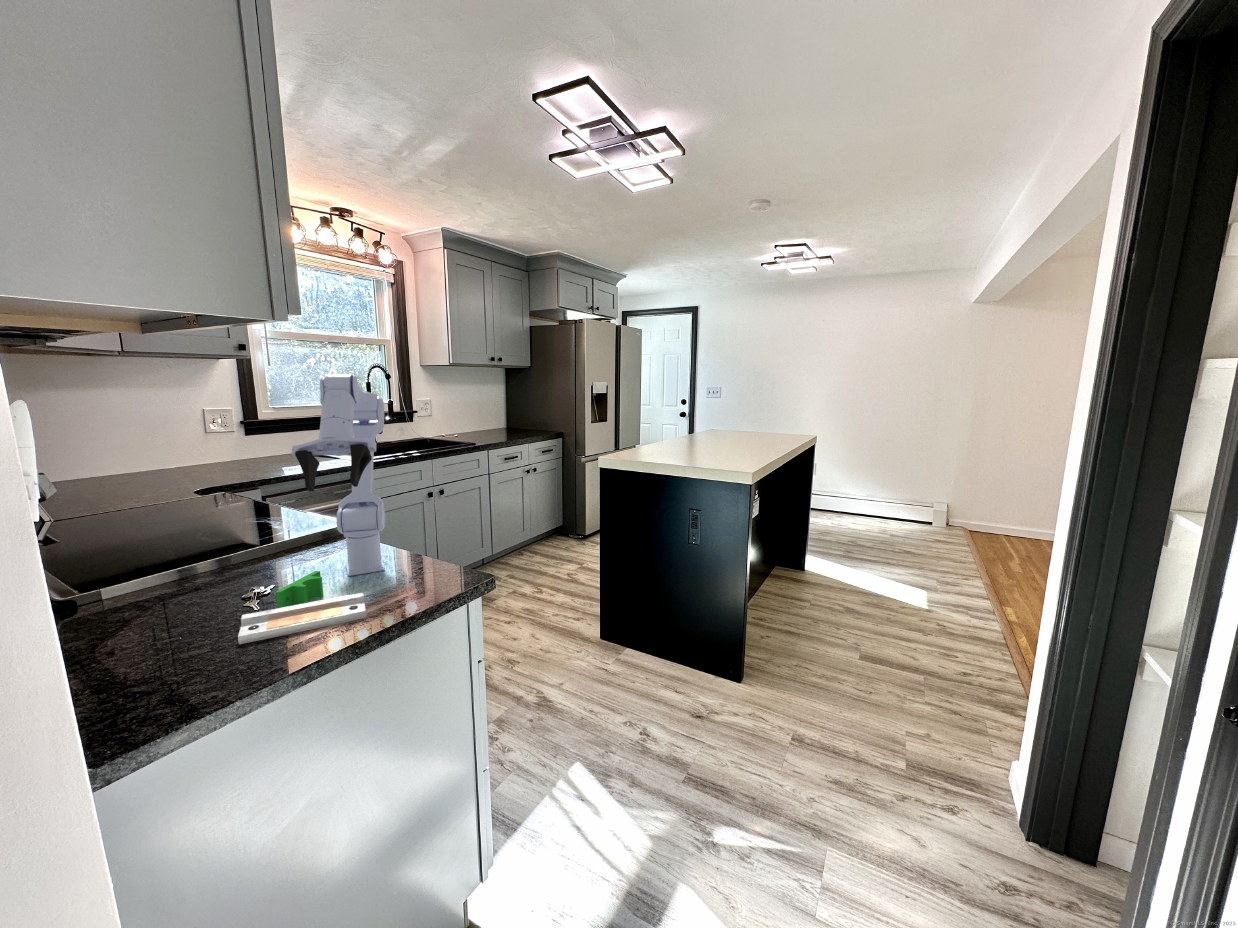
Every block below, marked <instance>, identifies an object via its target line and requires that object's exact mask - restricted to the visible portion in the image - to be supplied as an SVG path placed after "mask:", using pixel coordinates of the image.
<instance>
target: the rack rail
mask: <svg viewBox="0 0 1238 928" xmlns="http://www.w3.org/2000/svg"><path fill="white" fill-rule="evenodd" d="M364 599H365V597H364V593H363V592H359V593H354V594H349V595H343V596H342V595H341V596H337V597H332V598H327V599H321V600H316V601H310V602H308V603H304V604H299V605H294V606H288V607H283V608H277V607H276V608H272V609H267V610H262V611H255V612H252V613H245V614H241V618H240V622H241V625H240V628H239V632H238V636H237V638H238V639H237V640H238V641H237V642H238V645H243V644H247V643H248V644H249V643H253V642H257V641H258V642H259V641H262V640H267V639H273V638H277V637H283V636H287V635H291V634H296V633H301V632H304V631H310V630H316V629H319V628H326V627H329V626H335V625H339V624H343V623H349V622H352V621H353V622H354V621H358V619H359V620H362V619H366V618H367V610H366V604H365V600H364Z"/></svg>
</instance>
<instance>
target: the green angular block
mask: <svg viewBox="0 0 1238 928" xmlns="http://www.w3.org/2000/svg"><path fill="white" fill-rule="evenodd" d="M323 597H324V587H323V577H322V576H321V571H320V570H314V571H312V572H310V573H309V574H307V575H304V576H303V577H301V578H298V579H297V580H295V581H293V582H291V583H289V584H288V585H286V586H284V587H282V588H280V589H278V590H275V600H276V601H275V602H276V609H277V608H283V607H288V606H294V605H299V604H304V603H309V600H312V599H317V598H319V599H320V598H323Z"/></svg>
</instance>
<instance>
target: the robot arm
mask: <svg viewBox="0 0 1238 928" xmlns="http://www.w3.org/2000/svg"><path fill="white" fill-rule="evenodd" d="M319 392H320V397H319V400H320V405H321V414H320V424H319V433H318V439H315V440H311V441H308V442H305V443H301V444H297V445H296V444H295V445H292V447H291V454H290V455H292V457H293V458H294V459H295V460H297V462H298V463H299V466H300V468H301V471H302V474H303V478H304V484H305V485H304V487H305V488H306V489H307V490H308V491H309V492H315V487H316V476H317V473H318V472H317V471H318V469H319V466H320V461H319V460H318V459H317V458H316V456H346V455H348V454H350V458H351V459H350V463H351V464H350V466H351V467H350V474H349V475H350V476H349V477H350V479H349V480H350V483H351V493H350V494H348V495H347V496H345V497H344V498H343V499H341V500H340V501H339V503H338V507H337V508H338V510H337V511H336V529H337V531H338V532H339V533H340V534H341V535H343V537H344V538H345V540H346V541H345V542H346V552H347V561H346V562H345V567H346V568H345V569H346V572H347V573H346V574H347V576H348V577H351V576H358V575H359V576H360V575H364V574H368V573H369V574H371V573H375V572H382V571H385V570H386V567H385V564H384V562H383V559H382V554H381V553H382V551H381V538H380V537H381V536H380V532H382V531H383V530H384V529H385V527H386V510H385V503H384V501H383V499H382V498H381V497H380V496H378V495H376V494H374V493H373V490H374V489H373V488H374V487H373V486H374V485H373V484H374V460H375V459H374V453H375V452H377V442H376V438H377V435H379V434H381V433H382V432H384V427H385V402H384V400H383V398H382V397H381V396H378V394H377V393H375V392H374V393H373V392H370V391H366V390H363V389H362V387H361V385H359V381H358V378H357V375H356V374H353V375H352V374H343V373H342V374H341V373H340V374H325V375H324V376H320V379H319Z"/></svg>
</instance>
